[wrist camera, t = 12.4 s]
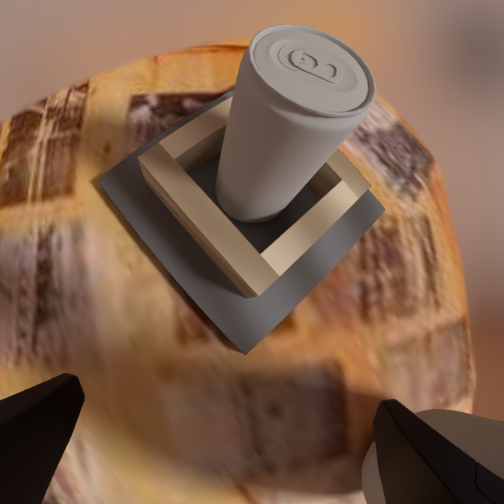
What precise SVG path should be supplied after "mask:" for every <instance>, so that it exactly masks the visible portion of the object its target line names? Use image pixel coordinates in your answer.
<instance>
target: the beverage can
mask: <svg viewBox="0 0 504 504" xmlns="http://www.w3.org/2000/svg"><path fill="white" fill-rule="evenodd" d="M375 95H376V83H375V79H374V77H373V74H372V72H371V69H370V68H369V67H368V65H367V64H366V62H365V61H364V60H363V58H362V57H361V56H360V55H358V53H357V52H355V50H354V49H353V48H351V47H350V46H348V45H347V44H346V43H344V42H343V41H342V40H340V39H338V38H336V37H334V36H332V35H331V34H329V33H327V32H324V31H321V30H318V29H315V28H312V27H308V26H303V25H296V24H281V25H276V26H270V27H268V28H266V29H264V30H262V31H260V32H259V33H257V34H256V35H255V36H254V37H253V39H252V40H251V42H250V45H249V47H248V48H247V50H246V51H245V52H244V55H243V58H242V61H241V64H240V67H239V71H238V76H237V80H236V84H235V89H234V93H233V98H232V102H231V107H230V112H229V116H228V121H227V126H226V131H225V136H224V141H223V146H222V151H221V156H220V161H219V166H218V172H217V177H216V183H215V194H216V197H217V200H218V202H219V204H220V206H221V207H222V208H223V210H224V211H225V212H226V213H227V214H228V215H229V216H231V217H232V218H234V219H236V220H238V221H240V222H245V223H262V222H266V221H269V220H271V219H273V218H275V217H277V216H278V215H279V214H280V213H281V212H282V210H283V209H284V208H285V207H286V206H287V205H288V204H289V203H290V201H291V200H292V199H293V198H294V197H295V196H296V195H297V194H298V192H299V191H300V190H301V189H302V188H303V187H304V186H305V185H306V183H307V182H308V181H309V180H310V179H311V178H312V177H313V176H314V174H315V173H316V172H317V171H318V170H319V169H320V168H321V166H322V165H323V164H324V163H325V162H326V161H327V160H328V159H329V157H330V156H331V155H332V154H333V153H334V152H335V151H336V150H337V148H338V147H339V146H340V145H341V144H342V143H343V142H344V141H345V140H346V138H347V137H348V136H349V135H350V134H351V133H352V132H353V131H354V129H355V128H356V127H357V126H358V125H359V124H360V123H361V122H362V120H363V119H364V118H365V117H366V116H367V114H368V110H369V107H370V105H371V104H372V103H373V102H374V98H375Z"/></svg>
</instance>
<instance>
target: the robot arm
mask: <svg viewBox="0 0 504 504" xmlns="http://www.w3.org/2000/svg"><path fill="white" fill-rule="evenodd" d="M84 400H85V395H84V392H83V389H82V387H81V384H80V381H79V379H78V377H77V376H76V375H73V374H70V373H63V374H61V375H59V376H57V377H54V378H52V379H50V380H47V381H45V382H43V383H40V384H38V385H36V386H33V387H31V388H29V389H26V390H24V391H22V392H19V393H17V394H15V395H12V396H10V397H7V398H5V399H2V400H0V504H41V503H42V501H43V498H44V496H45V494H46V491H47V489H48V487H49V484H50V482H51V480H52V477H53V475H54V473H55V471H56V468H57V466H58V464H59V462H60V460H61V458H62V455H63V453H64V451H65V449H66V447H67V445H68V443H69V440H70V438H71V436H72V433H73V431H74V428H75V425H76V422H77V419H78V417H79V414H80V411H81V409H82V406H83V403H84ZM373 430H374V438H375V446H376V454H377V463H378V470H379V475H380V479H381V484H382V488H383V492H384V497H385V501H386V504H504V479H503V478H501V477H499V476H497V475H496V474H495V473H493V472H492V471H490V470H489V469H487V468H486V467H484V466H483V465H482V464H480V463H479V462H476V460H475V459H473V458H472V457H471V456H469V455H468V454H467V453H465V452H464V451H463V450H461V449H460V448H458V447H457V446H456V445H454V444H453V443H452V442H451V441H449V440H448V439H447V438H445V437H444V436H443V435H441V434H440V433H439V432H437V431H436V430H435V429H433V428H432V427H431V426H429V425H428V424H427V423H426V422H424V421H423V420H422V419H420V418H419V417H418V416H416V415H415V414H414V413H413V412H411V411H410V410H409V409H407V408H406V407H405V406H404V405H402V404H401V403H400V402H398V401H397V400H396V399H388V400H382V401H381V402H380V404H379V407H378V409H377V412H376V415H375V417H374V420H373Z"/></svg>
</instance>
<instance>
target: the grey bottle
mask: <svg viewBox="0 0 504 504" xmlns="http://www.w3.org/2000/svg"><path fill="white" fill-rule="evenodd" d="M415 415H416V416H418V417H419V418H420V419H422V420H423V421H424V422H426V423H427V424H428V425H429V426H431V427H432V428H433V429H435V430H436V431H437V432H439V433H440V434H441V435H443V436H444V437H445V438H447V439H448V440H449V441H451V442H452V443H453V444H454V445H456V446H457V447H458V448H460V449H461V450H463V451H464V452H465V453H467V454H468V455H469V456H471V457H472V458H473V459H475V460H476V462H479V463H480V464H482V465H483V466H484V467H486V468H487V469H489V470H490V471H492V472H493V473H495V474H496V475H497V476H499V477H501V478H503V479H504V422H503V421H498V420H494V419H488V418H485V417H480V416H476V415H472V414H468V413H464V412H459V411H453V410H445V409H432V410H425V411H421V412H418V413H415ZM361 476H362V487H363V493H364V496H365V499H366V502H367V504H386V501H385V497H384V492H383V488H382V484H381V479H380V475H379V470H378V463H377V454H376V446H375V441H374V442H373V443H372V444H371V446H370V448H369V450H368V452H367V454H366V457H365V459H364V463H363V466H362V474H361Z"/></svg>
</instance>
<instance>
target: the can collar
mask: <svg viewBox="0 0 504 504" xmlns="http://www.w3.org/2000/svg"><path fill="white" fill-rule="evenodd" d="M233 93H234V90H232V91H230V92H228V93H226V94H224V95H223V96H221V97H219V98H217V99H215V100H214V101H212V102H210V103H209V104H207V105H205V106H203V107H202V108H200V109H198V110H197V111H195V112H193V113H192V114H190V115H189V116H187V117H185V118H184V119H182V120H181V121H179V122H177V123H176V124H174V125H173V126H171V127H170V128H168V129H167V130H165V131H164V132H162V133H161V134H159V135H158V136H156V137H155V138H153V139H152V140H150V141H149V142H148V143H146V144H145V145H143V146H142V147H140V148H139V149H138V150H136V151H135V152H134V153H132V154H131V155H129V156H128V157H127V158H125V159H124V160H123V161H121V162H120V163H119V164H118V165H116V166H115V167H114V168H112V169H111V170H110V171H109V172H107V173H106V174H105V175H104V176H102V177H101V178H100V179H99V180H97V181H98V182H99V184H100V185H101V187H102V188H103V189H104V191H105V192H106V193H107V195H108V196H109V197H110V199H111V200H112V201H113V203H114V204H115V205H116V207H117V208H118V209H119V211H120V212H121V213H122V215H123V216H124V217H125V219H126V220H127V221H128V222H129V224H130V225H131V226H132V227H133V229H134V230H135V231H136V233H137V234H138V235H139V236H140V238H141V239H142V240H143V241H144V243H145V244H146V245H147V246H148V248H149V249H150V250H151V251H152V252H153V254H154V255H155V256H156V257H157V258H158V260H159V261H160V262H161V263H162V264H163V266H164V267H165V268H166V269H167V270H168V272H169V273H170V274H171V275H172V276H173V278H174V279H175V280H176V281H177V282H178V283H179V285H180V286H181V287H182V288H183V289H184V290H185V291H186V293H187V294H188V295H189V296H190V297H191V298H192V299H193V300H194V302H195V303H196V304H197V305H198V306H199V307H200V308H201V309H202V311H203V312H204V313H205V314H206V315H207V316H208V317H209V318H210V319H211V320H212V322H213V323H214V324H215V325H216V326H217V327H218V328H219V329H220V330H221V331H222V332H223V333H224V334H225V336H226V337H227V338H228V339H229V340H230V341H231V342H232V343H233V344H234V345H235V346H236V347H237V348H238V349H239V350H240V351H241V352H242V353H243V354H244V355H246V354H247V353H248V352H249V351H250V350H251V349H252V348H253V347H255V346H256V345H257V344H258V343H259V342H260V341H261V340H262V339H263V338H264V337H265V336H266V335H267V334H268V333H269V332H270V331H271V330H272V329H273V328H274V327H275V326H277V325H278V324H279V323H280V322H281V321H282V320H283V319H284V318H285V317H286V316H287V315H288V314H289V313H290V312H291V311H292V310H293V309H294V308H295V307H296V306H297V305H298V304H299V303H300V302H301V301H302V300H303V299H304V298H305V297H306V296H307V295H308V294H309V293H310V292H311V291H312V290H313V289H314V287H315V286H316V285H317V284H318V283H319V282H320V281H321V280H322V279H323V278H324V277H325V276H326V275H327V274H328V273H329V272H330V271H331V270H332V269H333V268H334V267H335V265H336V264H337V263H338V262H339V261H340V260H341V259H342V258H343V257H344V256H345V255H346V254H347V253H348V251H349V250H350V249H351V248H352V247H353V246H354V245H355V244H356V243H357V242H358V240H359V239H360V238H361V237H362V236H363V235H364V234H365V233H366V231H367V230H368V229H369V228H370V227H371V226H372V225H373V224H374V222H375V221H376V220H377V219H378V218H379V217H380V216H381V214H382V213H383V212H384V211H385V208H384V207H383V206H382V205H381V204H380V202H379V201H378V200H377V199H376V198H375V196H374V195H373V194H372V193H371V192H370V190H369V188H370V187H371V184H370V183H369V182H368V181H367V180H366V179H365V177H364V176H363V175H362V174H361V173H360V172H359V171H358V169H357V168H356V167H355V166H354V165H353V164H352V163H351V162H350V161H349V160H348V158H347V157H346V156H345V155H344V154H343V153H342V152H341V151H340V150H339V149H338V148H337V150H336V151H335V152H334V153H333V154H332V155H331V156H330V157H329V159H328V160H327V161H326V162H325V163H324V164H323V165H322V166H321V168H320V169H319V170H318V171H317V172H316V173H315V174H314V176H313V177H312V178H311V179H310V180H309V181H308V182H307V183H306V185H305V186H304V187H303V188H302V189H301V190H300V191H299V192H298V194H297V195H296V196H295V197H294V198H293V199H292V200H291V201H290V203H289V204H288V205H287V206H286V207H285V208H284V209H283V210H282V212H281V213H280V214H279V215H278V216H277V217H275V218H273V219H271V220H269V221H266V222H262V223H245V222H240V221H238V220H236V219H234V218H232V217H231V216H229V215H228V214H227V213H226V212H225V211H224V210H223V208H222V207H221V206H220V204H219V202H218V200H217V197H216V194H215V183H216V177H217V172H218V166H219V161H220V156H221V151H222V146H223V141H224V136H225V131H226V126H227V121H228V116H229V112H230V107H231V102H232V98H233Z"/></svg>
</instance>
